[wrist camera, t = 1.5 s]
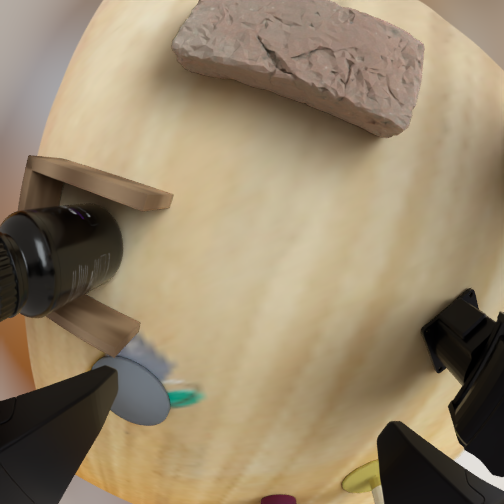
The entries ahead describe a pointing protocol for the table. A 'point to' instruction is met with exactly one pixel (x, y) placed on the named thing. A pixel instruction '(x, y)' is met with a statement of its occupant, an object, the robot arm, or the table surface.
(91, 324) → the wooden u-shaped frame
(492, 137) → the table surface
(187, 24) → the brick
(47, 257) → the supplement bottle
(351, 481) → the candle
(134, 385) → the coaster
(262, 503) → the cup
